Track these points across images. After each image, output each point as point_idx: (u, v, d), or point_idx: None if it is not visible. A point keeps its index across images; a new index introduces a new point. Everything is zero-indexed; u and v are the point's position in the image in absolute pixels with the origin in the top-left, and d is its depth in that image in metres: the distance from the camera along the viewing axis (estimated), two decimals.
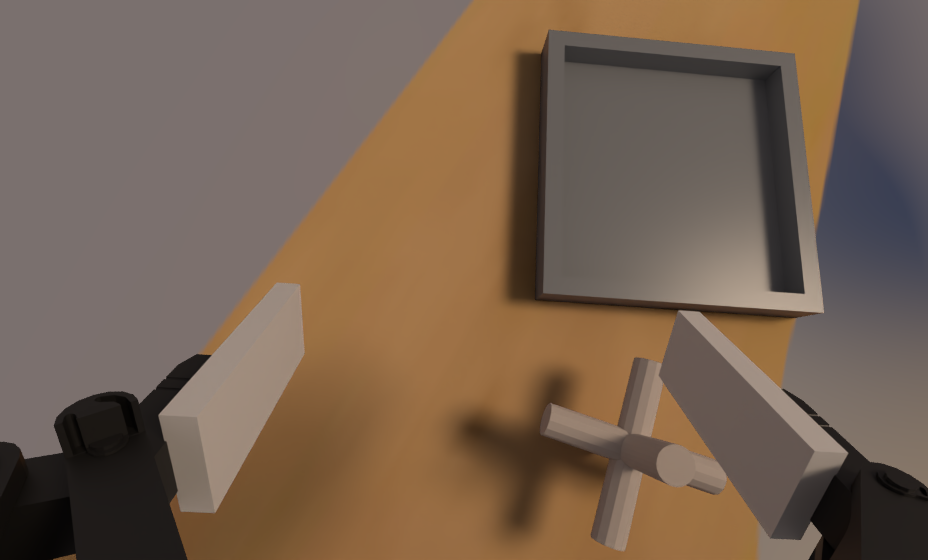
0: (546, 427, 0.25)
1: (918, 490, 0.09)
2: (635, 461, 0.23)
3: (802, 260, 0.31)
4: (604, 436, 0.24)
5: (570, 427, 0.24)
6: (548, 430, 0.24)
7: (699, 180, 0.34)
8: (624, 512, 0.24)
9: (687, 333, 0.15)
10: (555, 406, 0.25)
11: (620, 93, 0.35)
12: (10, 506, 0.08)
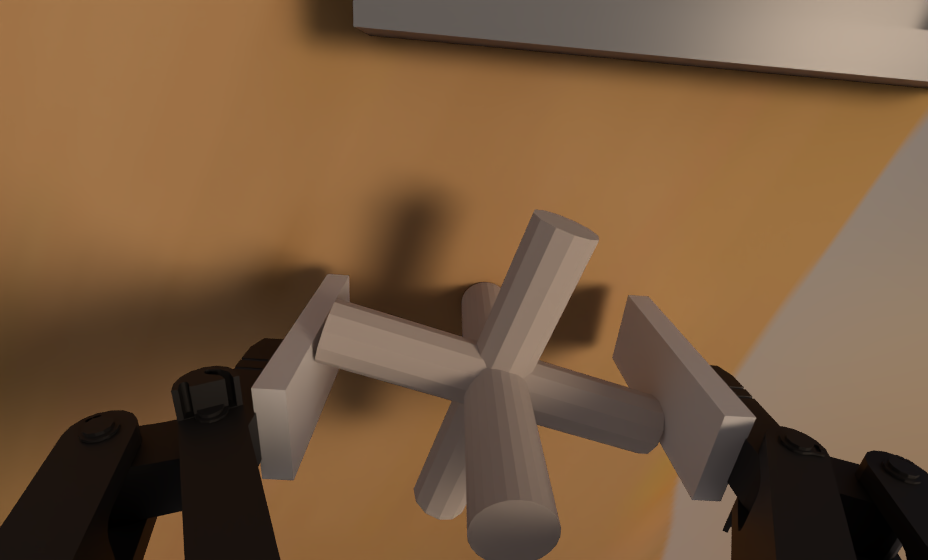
0: (316, 355, 0.12)
1: (813, 447, 0.10)
2: (466, 451, 0.11)
3: None
4: (433, 376, 0.12)
5: (363, 359, 0.12)
6: (320, 361, 0.12)
7: None
8: (461, 478, 0.14)
9: (634, 316, 0.16)
10: (339, 314, 0.12)
11: None
12: (126, 470, 0.08)
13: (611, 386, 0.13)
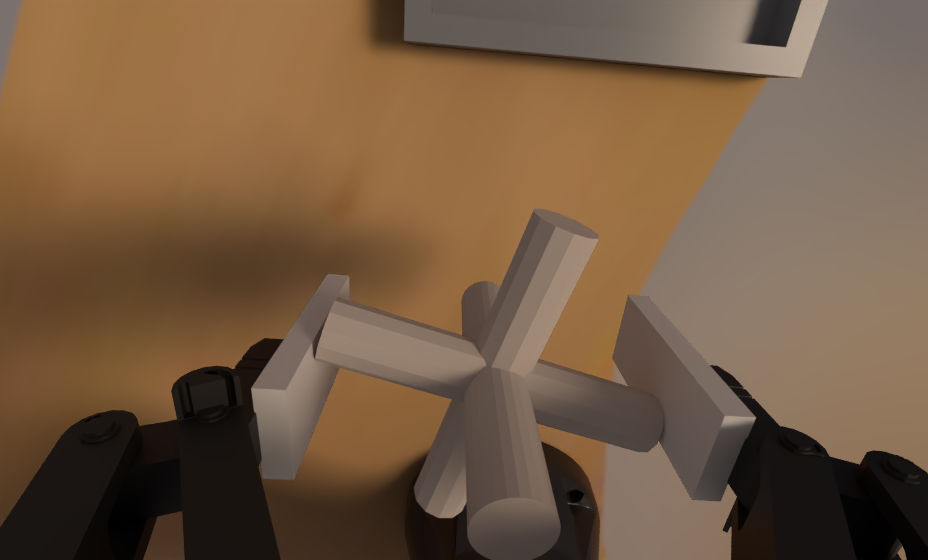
0: None
1: (813, 447, 0.10)
2: None
3: None
4: (433, 374, 0.12)
5: (363, 358, 0.12)
6: (320, 359, 0.12)
7: None
8: (462, 476, 0.14)
9: (634, 316, 0.16)
10: (339, 312, 0.12)
11: None
12: (126, 470, 0.08)
13: (611, 385, 0.13)
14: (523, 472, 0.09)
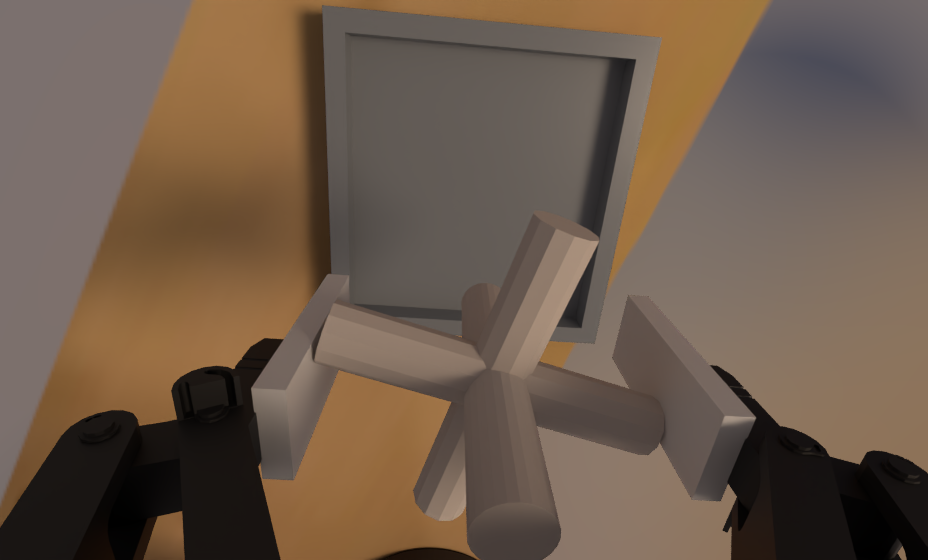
0: None
1: (813, 447, 0.10)
2: None
3: (588, 298, 0.32)
4: (432, 377, 0.12)
5: (362, 361, 0.12)
6: (319, 362, 0.12)
7: (512, 201, 0.31)
8: (461, 479, 0.14)
9: (634, 316, 0.16)
10: (338, 315, 0.12)
11: (431, 86, 0.28)
12: (126, 470, 0.08)
13: (611, 387, 0.13)
14: (523, 476, 0.09)
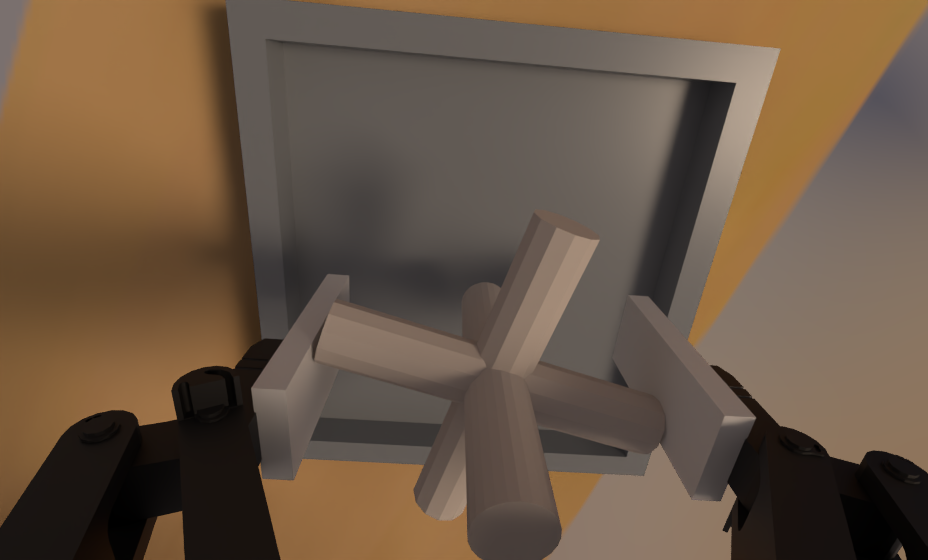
0: (315, 355, 0.12)
1: (813, 447, 0.10)
2: (466, 452, 0.11)
3: None
4: (433, 376, 0.12)
5: (362, 360, 0.12)
6: (319, 361, 0.12)
7: None
8: (462, 479, 0.14)
9: (634, 316, 0.16)
10: (339, 314, 0.12)
11: (410, 120, 0.18)
12: (125, 470, 0.08)
13: (612, 386, 0.13)
14: (524, 475, 0.09)
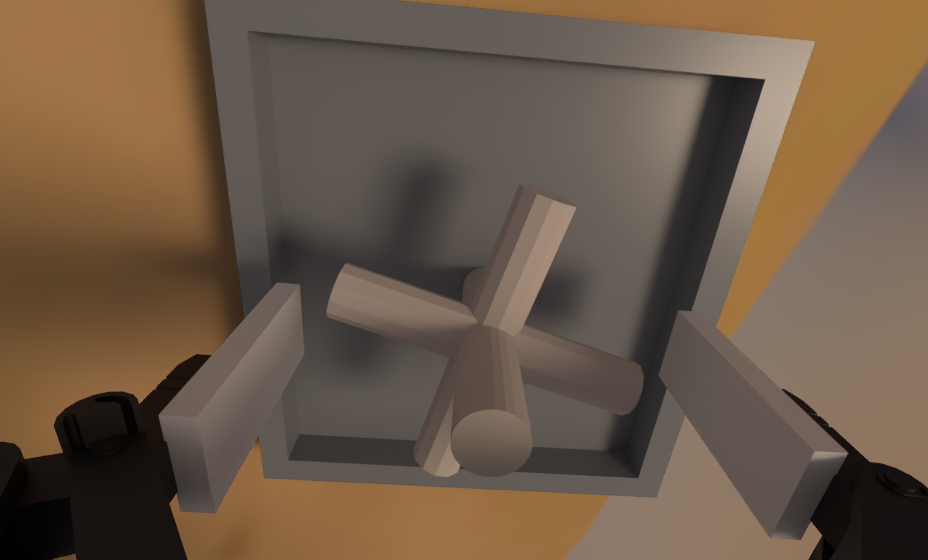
0: None
1: (918, 490, 0.09)
2: None
3: (652, 440, 0.21)
4: (430, 330, 0.14)
5: (368, 313, 0.13)
6: (331, 314, 0.14)
7: (538, 295, 0.20)
8: None
9: (687, 333, 0.15)
10: (349, 273, 0.14)
11: (407, 120, 0.17)
12: (10, 506, 0.08)
13: (594, 349, 0.15)
14: (501, 394, 0.10)
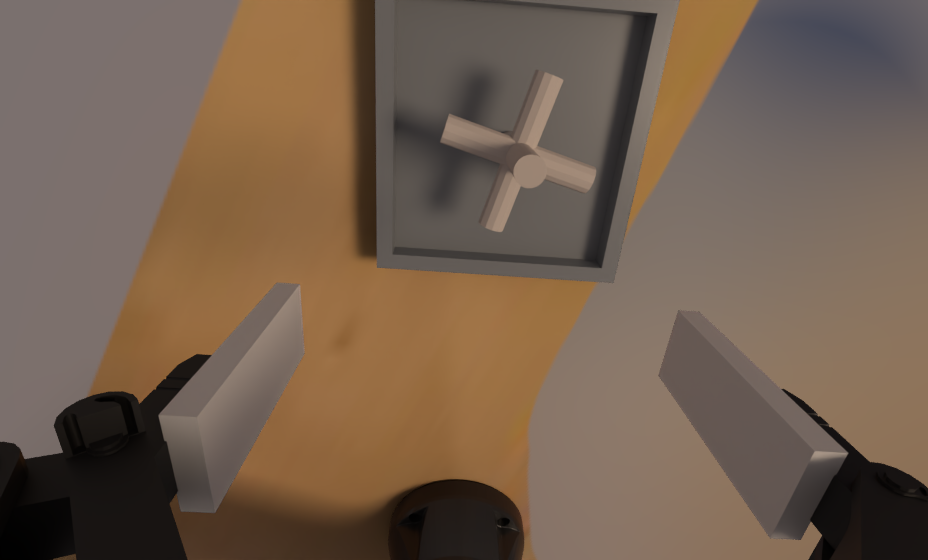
0: (442, 136, 0.28)
1: (918, 490, 0.09)
2: (509, 167, 0.27)
3: (609, 240, 0.35)
4: (492, 145, 0.28)
5: (462, 136, 0.28)
6: (443, 139, 0.28)
7: None
8: (503, 204, 0.30)
9: (687, 333, 0.15)
10: (452, 117, 0.28)
11: (469, 41, 0.31)
12: (10, 506, 0.08)
13: (572, 159, 0.29)
14: (533, 153, 0.25)
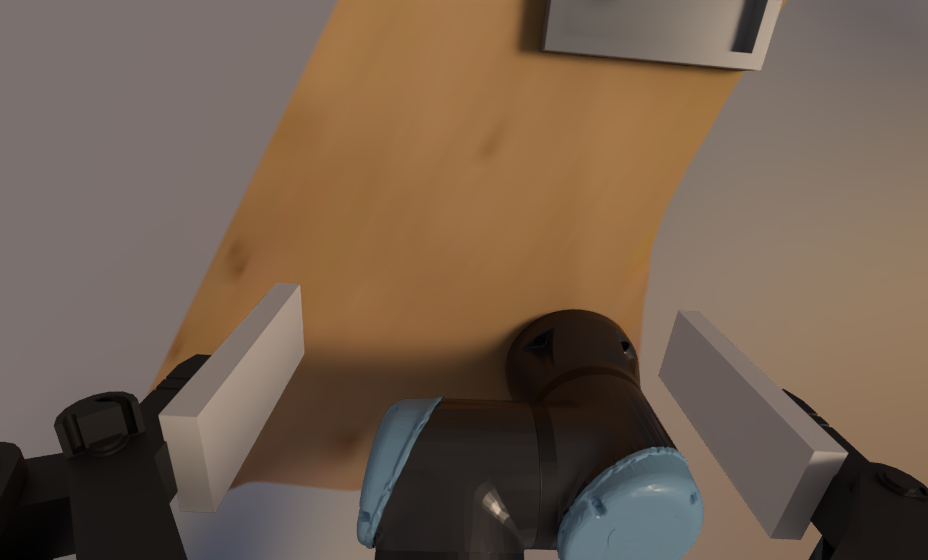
0: None
1: (918, 490, 0.09)
2: None
3: (762, 22, 0.38)
4: None
5: None
6: None
7: None
8: None
9: (687, 333, 0.15)
10: None
11: None
12: (10, 506, 0.08)
13: None
14: None
